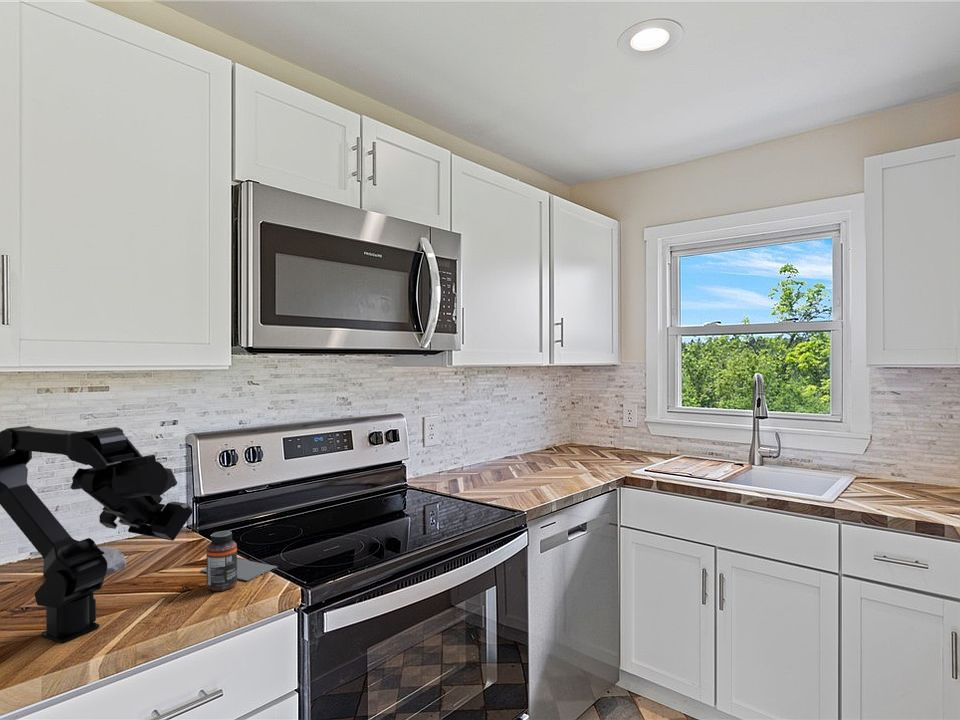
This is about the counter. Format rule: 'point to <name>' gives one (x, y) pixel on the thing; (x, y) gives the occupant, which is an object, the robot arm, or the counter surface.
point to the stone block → (113, 559)
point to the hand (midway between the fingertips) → (173, 538)
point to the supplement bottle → (221, 562)
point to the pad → (249, 569)
